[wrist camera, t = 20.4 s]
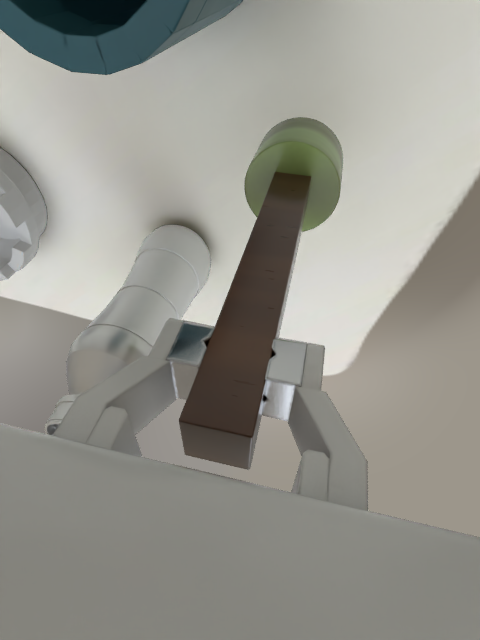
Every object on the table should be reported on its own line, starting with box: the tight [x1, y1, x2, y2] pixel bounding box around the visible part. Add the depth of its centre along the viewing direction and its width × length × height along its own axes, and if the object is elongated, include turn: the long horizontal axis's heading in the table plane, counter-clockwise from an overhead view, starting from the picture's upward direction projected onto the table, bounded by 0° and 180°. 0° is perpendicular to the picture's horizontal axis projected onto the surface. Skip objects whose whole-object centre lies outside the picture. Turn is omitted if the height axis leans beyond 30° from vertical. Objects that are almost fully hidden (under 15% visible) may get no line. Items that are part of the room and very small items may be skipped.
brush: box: [179, 117, 343, 470], centre depth 16 cm, size 5×5×18 cm
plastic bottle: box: [45, 225, 211, 436], centre depth 29 cm, size 6×7×20 cm
